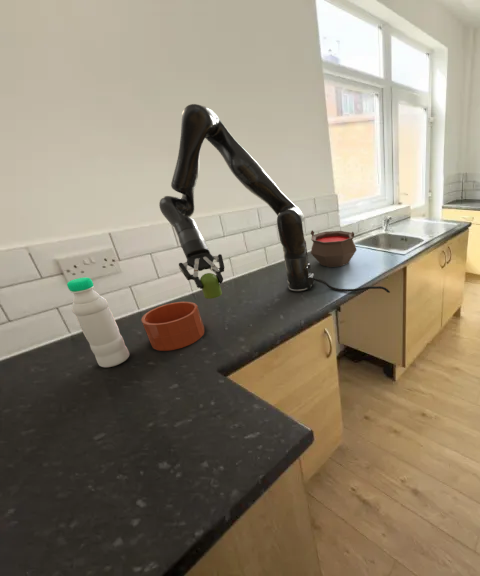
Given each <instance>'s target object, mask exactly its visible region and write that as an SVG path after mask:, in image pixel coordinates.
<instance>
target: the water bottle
mask: <svg viewBox="0 0 480 576" xmlns="http://www.w3.org/2000/svg"><path fill="white" fill-rule="evenodd" d="M66 287H67V289H68V290H69V291H70V293H72V294H73V298H72V305H71V311H72V313H73V314H74V315H75V317H76V320H77V322H78V326H79V327H80V329H81V331H82V333H83V335H84V337H85V339H86V341H87V342H88V344H89V348H90V350H91V352H92V353H93V355H94V357H95V360H96V362H97V365H98V366H99V367H101V368H111V367H116V366H118V365H121V364H123V363H125V362H126V361H127V360H128V359H129V357H130V351H129V349H128V347H127V346H126V344H125V340H124V337H123V336H122V334H121V333H120V329H119V326H118V324H117V321H116V319H115V317H114V314H113V312H112V310H111V308H110V307H109V302H108V300H107V299H106V298H105V297H103V296H102V295H101V294H100V293H99V292H97V291H96V290H95V289H94V287H95V286H94V282H93V280H92V278H90V277H86V276H85V277H79V278H75V279H72V280H69V281H68V282H67V284H66Z"/></svg>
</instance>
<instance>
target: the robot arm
mask: <svg viewBox="0 0 480 576" xmlns="http://www.w3.org/2000/svg"><path fill="white" fill-rule="evenodd" d="M205 140H207V141H208V142H209V144H211V145H212V146H213V147H214V148H215V149H216V150H217V152H219V154H220V156H221V157H222V158H223V160H224V162H225V163H226V165H227V167H228V169H229V170H230V172H231V173H232V174H233V176H234V177H235V178H236V179H237V180H238V181H239V183H240V184H242V186H244V188H245V189H247V190H248V191H249V192H250V193H251V194H252V195H254V196H256V197H257V198H259V200H261V201H263V202H264V203H265V204H267V206H269V207H270V209H271V210H272V211H273V212H274V213H275V215H276V216H277V218H276V227H277V232H278V236H279V241H280V245H281V247H282V252H283V259H284V266H285V272H286V278H287V279H286V282H287V285H288V290H289V291H290V292H294V293H300V292H305V291H311V289H312V287H313V285H314V284H315V282H318V283H320V284H323V285H325V286H326V287H327V288H328V289H331V290H333V291H337V292H359V291H364V290H384V291H385V292H386V293H388V294H389V293H391V291H390V290H389V289H388V288H387V287H385V286H382V285H381V286H380V285H377V286H376V285H375V286H370V285H369V286H364V287H358V288H337V287H335V286H331V285H330V284H329V283H328V282H326V281H324V280H323V279H319V278H316V277H315V273H312V269H311V264H310V263H309V257H308V256H309V255H308V248H307V247H308V246H307V241H306V239H305V234H304V226H303V224H304V221H305V217H304V213H303V212H302V210H301V209H300V208H299V207H298V206H297V205H295V203H293V202H292V200H290V199H289V198H288V197H287V195H285V194H284V193H283V192H282V191H281V190H280V188H279V187H278V186H277V184H276V183H275V182H274V181H273V179H272V178H271V177H270V176H269V174H268V173H267V172H266V171H265V169H264V168H263V167H262V166H261V165H260V164H259V163H258V162H257V160H256V159H254V158H253V157H252V155H251V154H250V153H249V152H248V151H247V150H246V149H245V148H244V147H243V146H242V145H241V144H240V143H239V142H238V141H237V140H236V139H235V137H234V136H233V135H232V134H231V132H230V131H229V130H228V128H227V126H225V124H224V123H223V122H222V121H221V119H220V118H219V116H218V115H217V114H216V113H215V112H214V111H213V109H210V108H209V107H207V106H204V105H201V104H197V103H191V104H188V105H186V106H185V108H184V109H183V111H182V113H181V127H180V139H179V148H178V154H177V159H176V164H175V167H174V171H173V174H172V178H171V184H170V187H171V189H172V190H174V192H177V193H179V194H181V197H177V196H172V195H164V196H163V197H161V198H160V200H159V204H158V205H159V210H160V213H161V214H162V215H163V217H164V218H165V219H166V221H168V223H169V224H170V225H171V226H172V227H173V228H174V230H175V233H176V236H177V238H178V242H179V244H180V247H181V249H182V251H183V253H184V257H185V258H186V261H185V262H179V263H178V268H179V270H180V272H181V273H182V275H183V276H184V277H185V279H186V280H187V281H191V280H192V281H194V283H195V286H196V288H198V289H199V290H202V289H203V286H202V284H201V281H200V277H199V272H202V271H204V270H210V271H211V272H213V274H214V275H216V276H217V278H218V281H219V284H220V285H222V284H223V282H224V277H223V275H222V273H224V272H225V264H224V258H223V255H222V254H221V253H219V254H218V255H213V254H212V253H211V252H210V248H209V247H208V245H207V243H206V240H205V238H204V236H203V235H202V233H201V231H200V229H199V227H198V225H197V222H196V221H195V219H193V218H192V216H193V214H194V213H195V188H196V185H197V183H198V178H199V172H200V155H201V149H202V146H203V143H204V141H205ZM214 260H215V262H217V263H218V266H219V267H218V266H217V265H216V263H214ZM188 267H190V268H192V269H193V273H192V274H191V273H190V272H189V271H188Z"/></svg>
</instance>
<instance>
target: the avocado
mask: <svg viewBox="0 0 480 576" xmlns="http://www.w3.org/2000/svg"><path fill="white" fill-rule="evenodd" d="M199 279H200V281H201V284H202V286H203V289H201V290H202V294H203V297H204V299H206V300H207V299H210V300H211V299H216V298H219V297H220V296H222V294H223V292H222V287H221V284H220V283H219V281H218V278H217V276H216V274H215V273H212V272H206V273H204V274H202V275H201V277H199Z"/></svg>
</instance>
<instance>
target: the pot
mask: <svg viewBox="0 0 480 576" xmlns="http://www.w3.org/2000/svg"><path fill="white" fill-rule="evenodd" d="M140 321H141V323H142V325H143V328H144V331H145V333H146V336H147V338H148V341H149V344H150V345H151V347H152V349H154V350H156V351H160V352H167V351H175V350H179V349H182V348H185V347H188V346H190V345H192V344H194V343H196V342H197V341H199V340H200V339H201V338H202V337H203V336H204V334H205V326H204V323H203V319H202V315H201V313H200V310H199V305H197V303H195V302H192V301H176V302H171V303H170V302H169V303H166V304H163V305H160V306H157V307H154V308H153V309H151V310H149V311H147V312H146V313H145V314H143V315H142V316H141V319H140Z"/></svg>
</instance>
